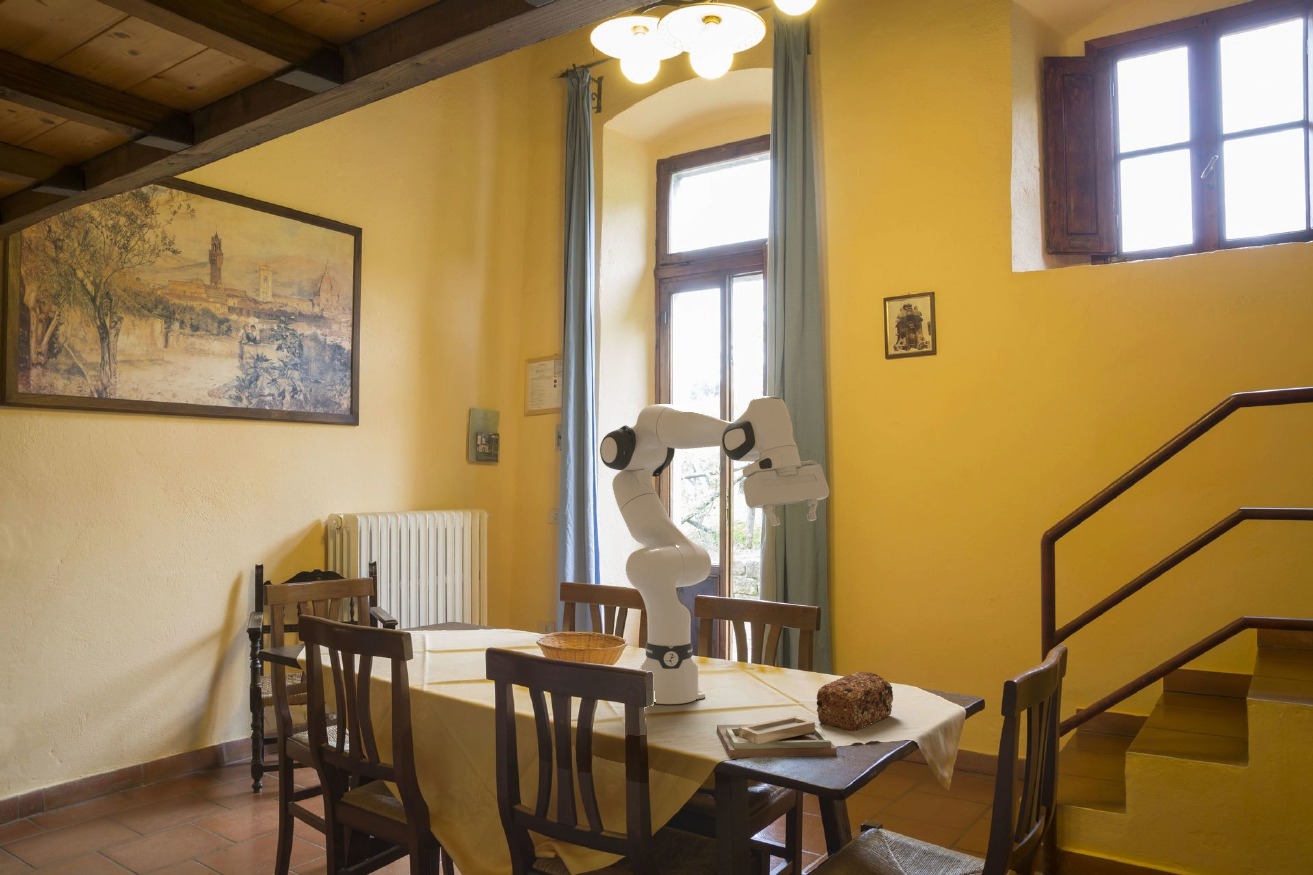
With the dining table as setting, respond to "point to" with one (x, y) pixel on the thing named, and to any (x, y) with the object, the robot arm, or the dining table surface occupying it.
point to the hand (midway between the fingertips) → (794, 523)
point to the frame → (776, 729)
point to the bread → (854, 701)
